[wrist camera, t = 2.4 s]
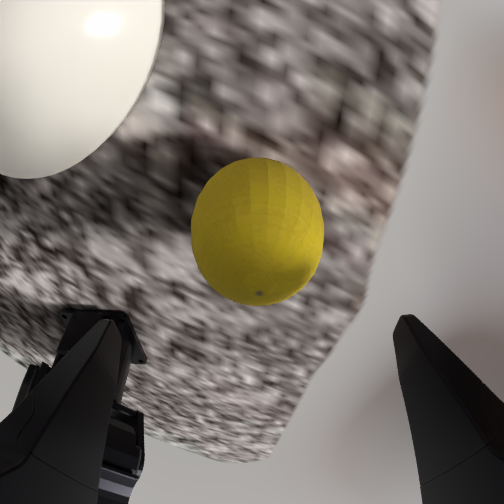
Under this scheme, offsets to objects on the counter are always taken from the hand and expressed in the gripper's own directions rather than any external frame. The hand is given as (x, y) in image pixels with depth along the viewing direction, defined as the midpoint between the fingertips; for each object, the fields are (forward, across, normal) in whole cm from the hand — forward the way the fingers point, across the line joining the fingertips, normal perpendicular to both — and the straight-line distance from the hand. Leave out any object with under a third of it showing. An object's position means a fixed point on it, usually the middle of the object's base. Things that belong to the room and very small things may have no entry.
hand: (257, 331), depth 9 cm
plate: (+10, +12, -10) cm, 18 cm away
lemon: (+10, 0, 0) cm, 10 cm away
